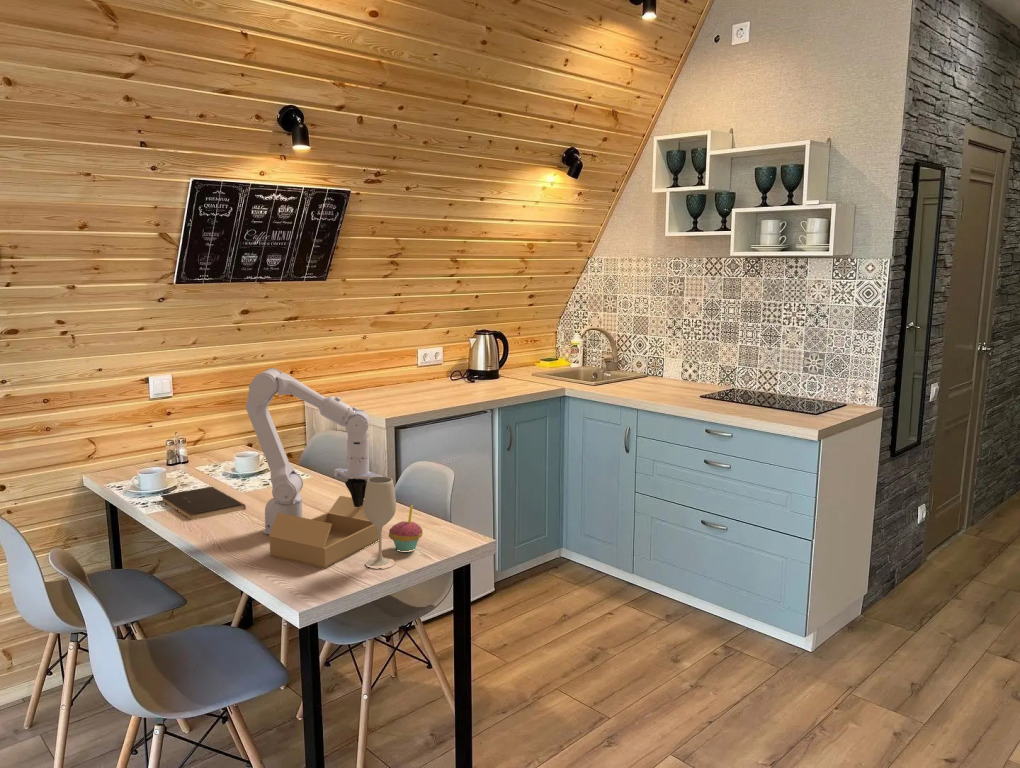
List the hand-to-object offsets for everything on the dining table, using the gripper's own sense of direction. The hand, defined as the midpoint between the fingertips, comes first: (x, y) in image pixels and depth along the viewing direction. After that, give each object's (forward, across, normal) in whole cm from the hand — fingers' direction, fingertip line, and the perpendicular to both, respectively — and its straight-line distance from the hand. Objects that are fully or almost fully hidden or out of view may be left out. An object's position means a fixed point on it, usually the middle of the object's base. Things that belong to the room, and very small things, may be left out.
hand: (358, 506), depth 209 cm
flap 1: (0, 0, -23) cm, 23 cm away
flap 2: (+1, 0, 0) cm, 1 cm away
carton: (+8, 0, -13) cm, 15 cm away
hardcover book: (+8, -54, -3) cm, 55 cm away
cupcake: (+8, +18, -4) cm, 20 cm away
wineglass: (+8, +18, -15) cm, 25 cm away
